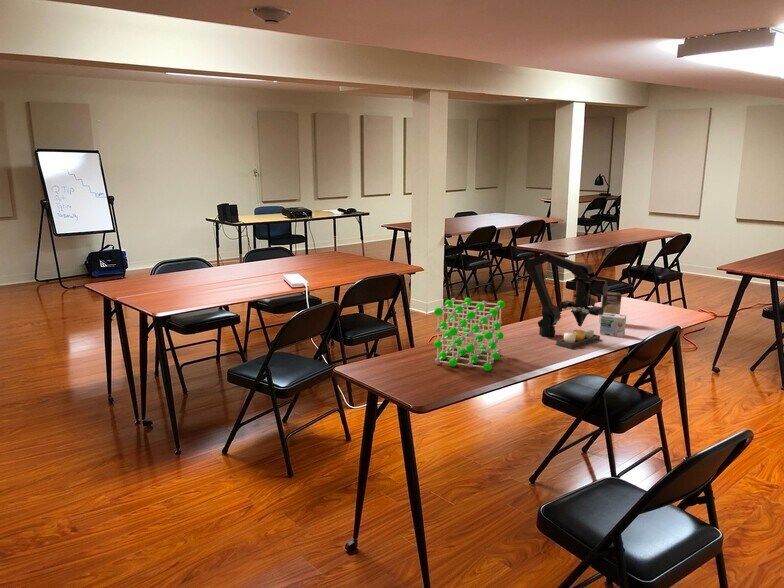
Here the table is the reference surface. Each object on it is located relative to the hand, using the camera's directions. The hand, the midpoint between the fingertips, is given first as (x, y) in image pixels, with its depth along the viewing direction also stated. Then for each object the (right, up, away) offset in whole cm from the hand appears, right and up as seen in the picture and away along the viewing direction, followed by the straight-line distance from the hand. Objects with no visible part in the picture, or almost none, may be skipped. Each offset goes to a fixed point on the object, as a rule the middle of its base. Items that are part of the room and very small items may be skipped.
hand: (579, 326), depth 270 cm
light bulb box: (+20, -6, +14) cm, 25 cm away
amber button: (0, -6, +1) cm, 6 cm away
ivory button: (-6, -7, -3) cm, 9 cm away
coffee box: (+26, -1, +37) cm, 46 cm away
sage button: (+5, -6, +6) cm, 10 cm away
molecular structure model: (-52, -13, -17) cm, 56 cm away
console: (0, -9, +2) cm, 9 cm away
